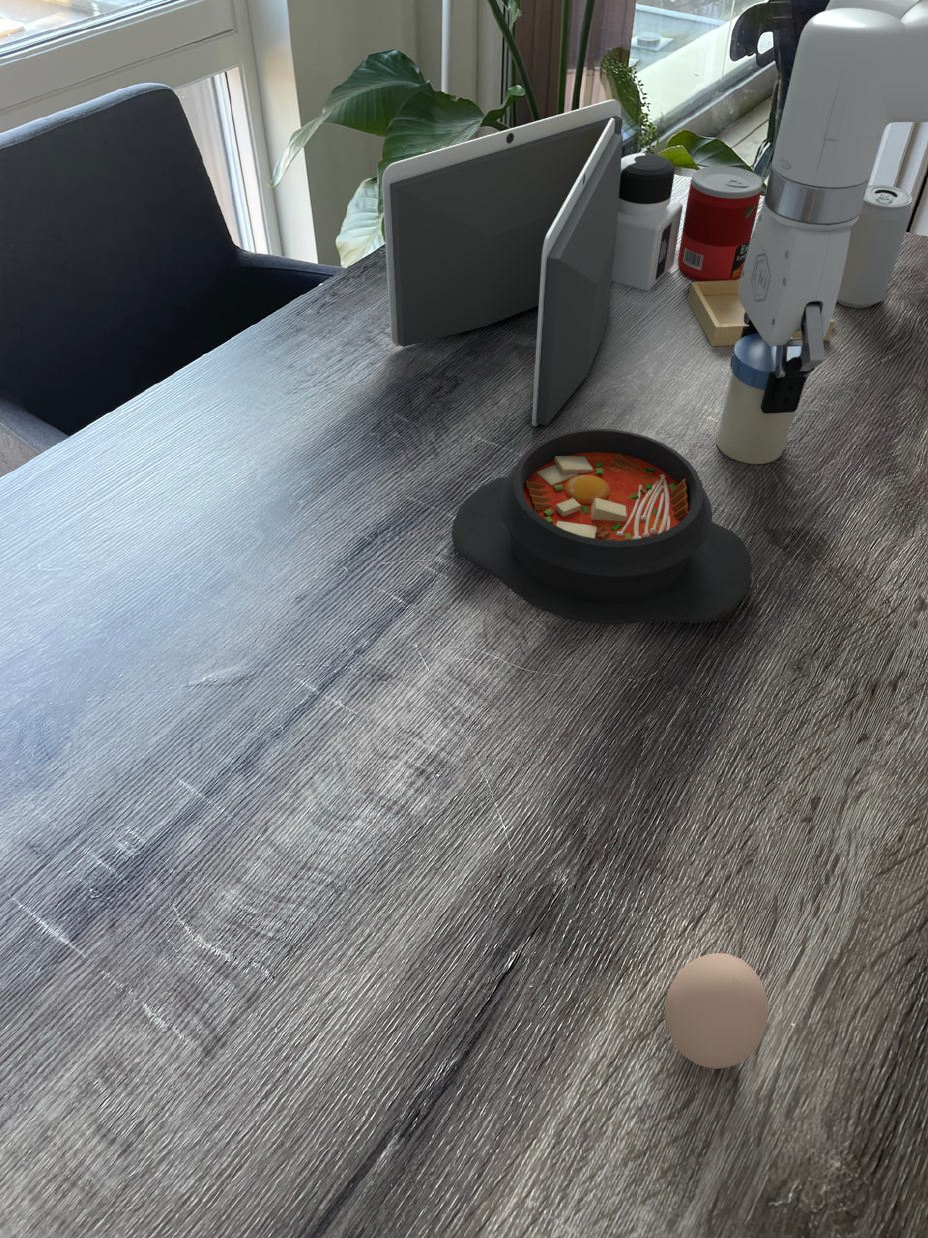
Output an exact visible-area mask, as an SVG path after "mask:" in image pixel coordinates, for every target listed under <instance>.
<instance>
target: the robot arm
mask: <svg viewBox="0 0 928 1238" xmlns="http://www.w3.org/2000/svg"><path fill="white" fill-rule="evenodd" d="M784 102H785V103H784V107H783V112H782V115H781V120H780V125H779V129H778V133H777V139H776V143H775V147H774V151H773V156H772V160H771V165H770V168H769V169H770V170H769V173H768V178H767V183H766V187H765V191H764V196H763V201H762V205H761V208H760V210H759V213H758V216H757V217H756V218H757V219H756V220H755V223H754V227H753V232H752V236H751V241H750V245H749V248H748V252H747V256H746V259H745V263H744V267H743V271H742V274H741V276H740V279H739V280H740V283H739V288H738V296H739V300H740V302H741V304H742V306H743V308H744V309H745V313H744V324H745V325H749V326H743V330H742V334H741V338H743V337H745V336H748V335H751V334H756V333H759V334H760V335H761V337H762V338H763V340H764V341H765V342H766V343H767V344H768V345H770V346H772V347H775V346H776V360H775V371H770V373H769V377H768V381H767V384H766V388H765V392H764V396H763V400H762V404H761V410H762V412H763V413H764V414H770V413H787V412H794V411H795V412H796V411H797V410H798V408H799V404H800V401H801V398H802V394H803V390H804V386H805V384H806V383H805V380H806V377H807V376H808V377H810V376H811V374H812V372H814V371H815V369H816V368H817V367H819V366H820V365H821V364H823V362H824V360H825V345H824V341H823V339H824V337H825V335H826V333H827V330H828V328H829V325H830V322H831V319H833V316H834V312H835V307H836V305H837V297H838V293H839V289H840V285H841V280H842V276H843V271H844V267H845V262H846V257H847V251H848V246H849V239H850V233H851V226H852V225H853V224H855V223H856V222H857V220H858V218H859V214H860V211H861V208H862V204H863V201H864V197H865V194H866V191H867V187H868V186H869V184H870V180H871V176H872V175H873V170H874V166H875V164H876V161H877V156H878V153H879V149H880V146H881V143H882V140H883V136H884V132H885V129H886V127H887V126H889V124H892V123H928V0H829V2H828V4H827V6H826V8H825V10H824V11H820V12H818V13H817V14H815V15H814V16H812V17H811V18H810V19H809V20H808V21H807V23H806V24H805V25H804V27H803V29H802V31H801V33H800V37H799V41H798V44H797V48H796V52H795V57H794V62H793V66H792V70H791V76H790V79H789V85H788V89H787V94H786V98H785V101H784ZM795 331H801V333H802V338H791V337H792V335H793V334H794V333H795ZM793 346H801V354H800V356H798V357H793V358H792V359H790V360H788V361H787V350H788V347H793ZM806 381H807V380H806Z"/></svg>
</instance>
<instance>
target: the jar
mask: <svg viewBox="0 0 928 1238" xmlns="http://www.w3.org/2000/svg"><path fill="white" fill-rule="evenodd" d="M764 392H765V390H762V389H758V388H754V387H752V386H749V385H747V384H745V383H743V382H742V381H740V380H739V379H738V378H737V377H736V376H735V375H734V374H733V372H732V370H731V372H730V375H729V381H728V385H727V389H726V392H725V393H726V394H725V398H724V402H723V406H722V412H721V415H720V420H719V424H718V429H717V433H716V438H715V442H716V446H717V447H718V449H719V450H720V452H721V453H723V455H725V456H726V457H728V458H730V459H732V460H734V461H736V462H739V463H743V464H748V465H763V464H770V463H772V462H774V461H776V460H778V459H779V458H780V457H781V456H782V455H783V453H784V450H785V446H786V443H787V441H788V436H789V434H790V429H791V427H792V421H793V419H794V417H795V412H796V411H794V412H787V413H770V414H764V413H763V412H762V410H761V404H762V400H763V396H764Z"/></svg>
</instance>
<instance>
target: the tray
mask: <svg viewBox="0 0 928 1238" xmlns="http://www.w3.org/2000/svg"><path fill="white" fill-rule="evenodd" d="M739 283H740V279H737V280H726V281H704V282H696V281H690V284H689V285H690V286H689V291H688V295H687V302H688V305H689V306H690V308H691V310H692V311H693V314H694V316H695V317H696V319H697V321H698V323H699V325H700V327H701V329H702V330H703V332H704V334H705V336H706V338H707V339H708V341H709V343H710V345H711V347H725V346H728V347H729V346H735V345H736V343H737V342H738V341H739V340H740V339H741V334H742V330H743V326H749V325H745V324H744V313H745V309H744V308H743V306H742V304H741V302H740V300H739V296H738V288H739ZM834 325H835V320H834V319H833V318H832V319H831V322H830V325H829V328H828V330H827V333H826V335H825V337H824V339H823V342H824V341H825V342H826V341H830V338H831V334H832V331H833V328H834ZM792 338H802V333H801V331H795V333H794V334H793V335H792Z"/></svg>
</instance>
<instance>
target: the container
mask: <svg viewBox="0 0 928 1238" xmlns="http://www.w3.org/2000/svg"><path fill="white" fill-rule="evenodd" d="M675 172H676V167H675V166H674V164H673V163H672V161H671V160H669V159H667V158H666V157H663V156H661V155H659V154H655V153H648V152H639V153H633V154H629V155H626V156H624V157H621V172H620V187H619V202H618V217H617V232H616V244H615V253H614V262H613V271H612V279H611V283H612V282H613V283H616V284H620V285H623V286H627V287H630V288H635V289H638V290H641V291H645V292H648V291H651V289H652V288H653V287H655V285H656V284H657V283H658V282H659V281H660V280H661V278H663V277H664V275H666V273H667V272H668V271H670V270H671V268H673V266H674V262H675V256H676V250H677V245H678V237H679V231H680V226H681V220H682V215H683V214H682V213H683V207H684V206H683V203H681V202H678V201H674V200H671V198H672V193H673V186H674V180H675Z"/></svg>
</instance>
